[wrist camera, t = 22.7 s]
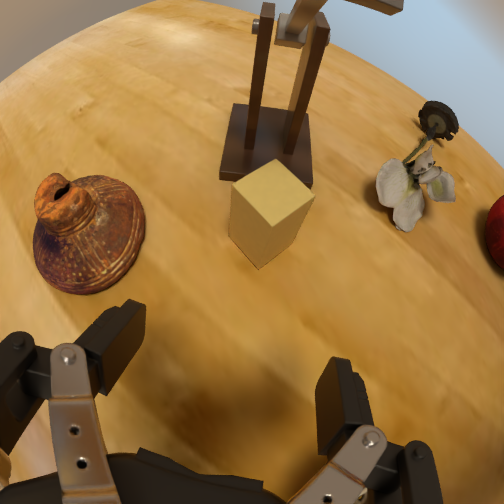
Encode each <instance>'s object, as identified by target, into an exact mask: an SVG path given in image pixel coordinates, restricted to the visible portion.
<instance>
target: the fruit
mask: <svg viewBox="0 0 504 504" xmlns="http://www.w3.org/2000/svg"><path fill="white" fill-rule="evenodd" d="M485 233H486V242H487V246H488V249H489V251H490V254H491V256H492V257H493V259H494V260H495V262H496V263H497V264H498V265H499V266H500V267H501V268H502V269H504V195H503V196H501V197H500V198H499V199H498V200H497V201H496V202H495V203H494V204H493V206H492V207H491V209H490V211H489V213H488V217H487V221H486V227H485Z"/></svg>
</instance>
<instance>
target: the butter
mask: <svg viewBox="0 0 504 504" xmlns="http://www.w3.org/2000/svg"><path fill="white" fill-rule="evenodd" d="M314 198H315V194H314V193H313V192H312V191H310V190H309V189H308V188H307V187H306V186H305V185H304V184H303V183H302V182H301V181H300V180H299V179H298V178H297V177H296V176H295V175H294V174H292V173H291V172H290V171H289V170H288V169H287V168H286V167H285V166H284V165H283V164H282V163H280V162H279V161H278V160H277V159H274V160H273V161H271V162H269V163H267V164H266V165H264V166H262V167H260V168H259V169H257V170H255V171H253V172H252V173H250V174H248V175H247V176H245V177H243V178H242V179H240V180H238V181H237V182H235V183H233V184H232V191H231V207H230V224H229V237H230V238H231V239H232V240H233V241H234V242H235V244H236V245H237V246H238V247H239V248H240V249H241V250H242V252H243V253H244V254H245V255H246V256H247V257H248V258H249V260H250V261H251V262H252V263H253V264H254V265H255V266H256V267H257V269H260V268H261V267H263V266H264V265H265V264H267V263H268V262H269V261H270V260H272V259H273V258H274V257H276V256H277V255H278V254H279V253H281V252H282V251H283V250H284V249H286V248H287V247H288V246H290V245H291V244H292V243H293V241H294V239H295V237H296V235H297V233H298V231H299V229H300V227H301V225H302V223H303V221H304V219H305V217H306V215H307V212H308V210H309V208H310V206H311V204H312V202H313V200H314Z"/></svg>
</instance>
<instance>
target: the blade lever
mask: <svg viewBox="0 0 504 504" xmlns="http://www.w3.org/2000/svg"><path fill="white" fill-rule="evenodd" d="M345 1H348V2H352V3H355V4H359V5H362V6H365V7H368V8H371V9H374V10H376V11H379V12H382V13H384V14H387V15H390V16H391V15H393V14H396V13H398V12H401V11H402V10H403V2H404V0H345ZM326 2H327V0H296V3H295V5H294V7H293V9H292V11H291V13H290V14H285V13H280V15H279V18H278V21H277V28H276V35H275V42H274V45H279V46H285V47H291V48H297V49H301V48H302V47H303V46H304V45H305V44H306V39H307V32H308V24H309V22H310V21H311V20H312V18H313V17H314V16H315V15H316V14H317V12H318V11H319V10H320V9H321V8H322V6H323V5H324V4H325V3H326Z"/></svg>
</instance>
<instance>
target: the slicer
mask: <svg viewBox="0 0 504 504" xmlns="http://www.w3.org/2000/svg"><path fill="white" fill-rule="evenodd" d="M274 16H275V4H274V3H267V2H263V5H262V9H261V14H260V19H254V20H253V25H252V34H256V35H257V42H256V50H255V58H254V66H253V74H252V82H251V91H250V99H249V105H245V104H235V103H234V104H233V107H232V112H231V116H230V121H229V126H228V131H227V135H226V140H225V145H224V150H223V155H222V161H221V166H220V171H219V179H220V180H229V181H238V180H240V179H242V178H243V177H245V176H247V175H248V174H250V173H252V172H253V171H255V170H257V169H259V168H260V167H262V166H264V165H266V164H267V163H269V162H271V161H273V160H274V159H277V160H278V161H279V162H280V163H282V164H283V165H284V166H285V167H286V168H287V169H288V170H289V171H290V172H291V173H292V174H294V175H295V176H296V177H297V178H298V179H299V180H300V181H301V182H302V183H303V184H304V185H305V186H306V187H307V188H308V189H309V190H310V189H311V187H312V185H313V173H312V156H311V142H310V129H309V118H308V114H307V113H306V110H307V107H308V104H309V100H310V97H311V94H312V90H313V87H314V84H315V80H316V77H317V73H318V70H319V67H320V63H321V60H322V57H323V53H324V50H325V46H328V44H329V41H330V27H329V24H328V22H327V20H326V18H325V15H324V13H323V12H319V11H318V12H317V14H316V15H315V16H314V17H313V18H312V20H311V21H310V22H309V24H308V32H307V39H306V44H305V45H304V46H303V49H302V53H301V57H300V61H299V66H298V70H297V74H296V78H295V82H294V86H293V90H292V94H291V99H290V103H289V107H288V110H284V109H277V108H270V107H262V106H260V105H261V99H262V92H263V86H264V79H265V73H266V67H267V60H268V54H269V48H270V42H271V36H272V30H273V24H274Z"/></svg>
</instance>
